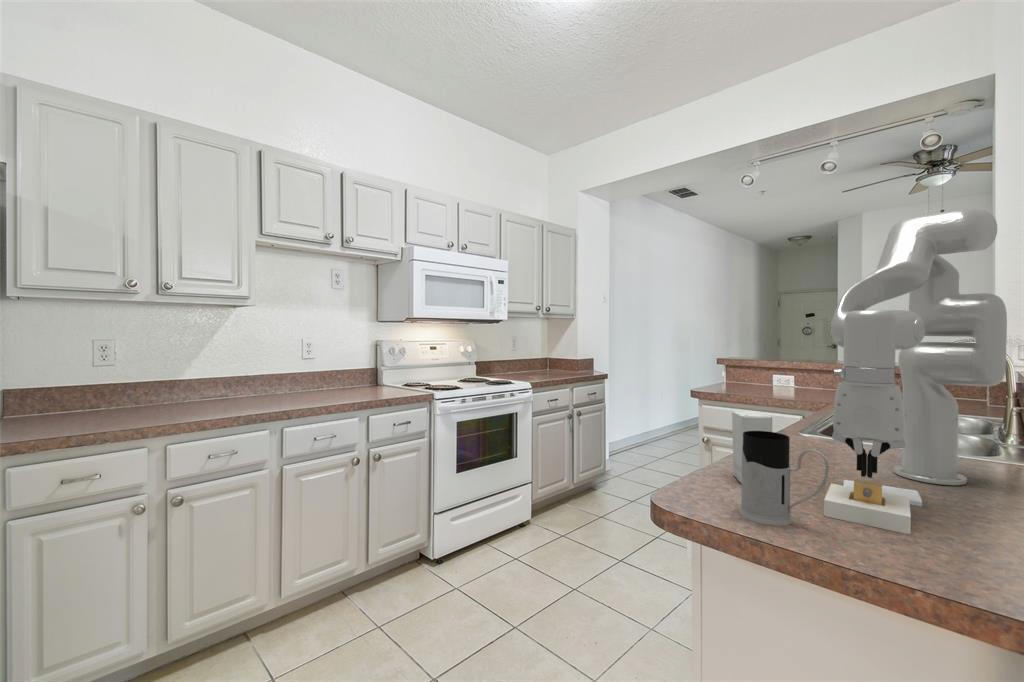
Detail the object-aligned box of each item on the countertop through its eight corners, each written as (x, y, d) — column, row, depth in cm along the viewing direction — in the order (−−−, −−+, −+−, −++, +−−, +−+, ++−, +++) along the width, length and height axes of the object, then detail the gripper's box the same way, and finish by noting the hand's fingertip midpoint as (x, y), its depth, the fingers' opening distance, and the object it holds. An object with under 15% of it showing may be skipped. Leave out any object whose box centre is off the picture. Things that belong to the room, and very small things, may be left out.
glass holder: (750, 503, 90) (750, 428, 90) (835, 526, 79) (836, 441, 79) (730, 514, 84) (731, 434, 84) (819, 541, 73) (820, 449, 73)
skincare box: (774, 488, 98) (774, 417, 98) (741, 486, 100) (741, 416, 99) (760, 476, 107) (761, 410, 106) (730, 474, 108) (731, 409, 108)
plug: (854, 506, 87) (855, 477, 87) (881, 511, 84) (882, 482, 84) (852, 515, 83) (853, 485, 82) (881, 521, 80) (881, 490, 80)
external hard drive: (922, 509, 88) (843, 495, 96) (917, 497, 95) (843, 485, 102) (922, 501, 88) (843, 488, 95) (917, 489, 95) (843, 478, 102)
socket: (831, 497, 93) (831, 483, 93) (908, 513, 85) (909, 497, 85) (823, 515, 84) (824, 499, 84) (910, 534, 76) (910, 516, 76)
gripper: (817, 375, 86) (815, 472, 86) (923, 381, 76) (921, 489, 76) (822, 373, 91) (820, 463, 92) (921, 378, 82) (920, 479, 82)
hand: (866, 475), depth 84 cm, fingers closed
